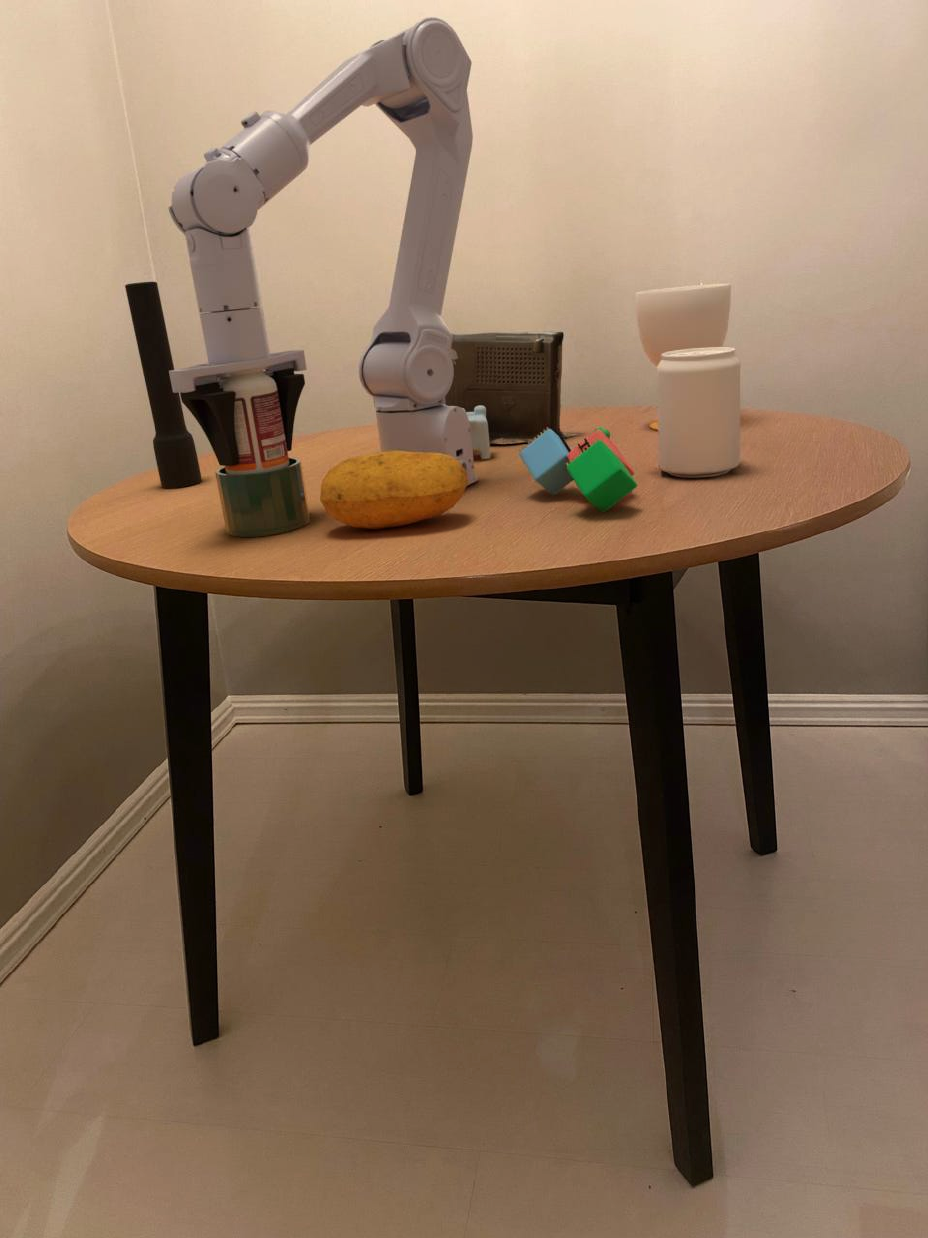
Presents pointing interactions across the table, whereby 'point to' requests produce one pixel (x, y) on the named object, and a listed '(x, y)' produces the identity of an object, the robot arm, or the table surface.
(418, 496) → the potato
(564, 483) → the building blocks
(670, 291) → the cup
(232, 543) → the table surface
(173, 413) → the flashlight
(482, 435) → the figurine
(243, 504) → the green round pot
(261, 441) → the pill bottle
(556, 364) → the radio
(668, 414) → the beverage can
